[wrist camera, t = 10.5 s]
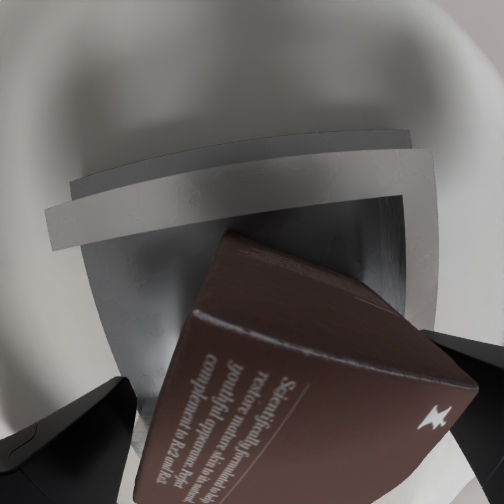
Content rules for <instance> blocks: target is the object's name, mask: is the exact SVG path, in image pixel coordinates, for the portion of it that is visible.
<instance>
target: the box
mask: <svg viewBox="0 0 504 504" xmlns="http://www.w3.org/2000/svg"><path fill="white" fill-rule="evenodd" d="M478 391H479V387H478V384H477V382H476V381H474V380H473V379H472V378H471V377H470V376H469V375H468V374H467V373H466V372H464V371H463V370H462V369H461V368H460V367H459V366H458V365H457V364H456V363H455V362H454V360H453V359H452V358H451V357H450V356H448V355H447V354H446V353H445V352H444V351H442V350H441V349H440V348H439V347H438V346H436V345H435V344H434V343H433V342H432V341H430V340H429V339H428V338H427V337H425V336H424V335H423V334H422V333H421V332H420V331H419V330H418V329H417V328H416V327H414V326H413V325H412V324H411V323H410V322H409V321H408V320H406V319H405V318H404V317H403V316H402V315H401V314H400V313H399V312H397V311H396V310H395V309H394V308H393V307H392V306H391V305H390V304H389V303H387V302H386V301H385V300H384V299H383V298H381V297H380V296H379V295H378V294H377V293H376V292H375V291H374V290H372V289H371V288H370V287H368V286H367V285H366V284H364V283H363V282H361V281H358V280H355V279H353V278H350V277H348V276H345V275H343V274H341V273H338V272H335V271H333V270H330V269H328V268H326V267H322V266H320V265H317V264H315V263H313V262H310V261H307V260H305V259H302V258H300V257H297V256H294V255H292V254H290V253H287V252H284V251H282V250H279V249H277V248H274V247H272V246H269V245H267V244H264V243H261V242H259V241H256V240H253V239H251V238H248V237H245V236H243V235H240V234H237V233H235V232H232V231H230V230H227V231H225V232H224V234H223V236H222V239H221V241H220V244H219V246H218V248H217V250H216V253H215V255H214V258H213V260H212V263H211V265H210V268H209V270H208V273H207V275H206V277H205V279H204V282H203V284H202V287H201V289H200V291H199V294H198V296H197V299H196V302H195V304H194V306H193V308H192V310H191V311H190V313H189V315H188V316H187V318H186V320H185V322H184V324H183V327H182V330H181V333H180V336H179V339H178V341H177V344H176V347H175V350H174V352H173V355H172V358H171V361H170V364H169V367H168V370H167V373H166V375H165V378H164V381H163V384H162V387H161V390H160V392H159V396H158V400H157V403H156V407H155V409H154V413H153V417H152V420H151V423H150V427H149V430H148V434H147V437H146V441H145V445H144V448H143V452H142V456H141V460H140V465H139V468H138V472H137V475H136V479H135V486H134V492H133V501H134V502H135V503H137V504H371V503H373V502H374V501H376V500H377V499H379V498H380V497H382V496H383V495H385V494H386V493H388V492H389V491H391V490H392V489H394V488H395V487H397V486H398V485H399V484H401V483H402V482H403V481H404V480H405V479H406V478H408V477H409V476H410V475H411V474H412V472H413V471H414V470H415V469H416V468H417V467H418V466H419V465H420V463H421V462H422V461H423V459H424V458H425V457H426V456H427V455H428V453H429V452H430V451H431V450H432V449H433V448H434V447H435V446H436V444H437V443H438V442H439V441H440V440H441V439H442V438H443V437H444V435H445V434H446V433H447V432H448V431H449V430H450V428H451V427H452V426H453V425H454V423H455V422H456V421H457V419H458V418H459V417H460V416H461V415H462V413H463V412H464V411H465V409H466V408H467V407H468V405H469V404H470V403H471V401H472V400H473V399H474V397H475V396H476V395H477V393H478Z"/></svg>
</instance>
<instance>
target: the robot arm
mask: <svg viewBox="0 0 504 504" xmlns="http://www.w3.org/2000/svg"><path fill="white" fill-rule="evenodd" d="M419 331H420V332H421V333H422V334H423V335H424V336H425V337H427V338H428V339H429V340H430V341H432V342H433V343H434V344H435V345H436V346H438V347H439V348H440V349H441V350H442V351H444V352H445V353H446V354H447V355H448V356H450V357H451V358H452V359H453V360H454V362H455V363H456V364H457V365H458V366H459V367H460V368H461V369H462V370H463V371H464V372H466V373H467V374H468V375H469V376H470V377H471V378H472V379H473V380H474V381H476V382H477V384H478V387H479V391H478V393H477V395H476V396H475V397H474V399H473V400H472V401H471V403H470V404H469V405H468V407H467V408H466V409H465V411H464V412H463V413H462V415H461V416H460V417H459V418H458V419H457V421H456V422H455V423H454V425H453V426H452V427H451V428H450V432H451V433H452V435H453V437H454V438H455V440H456V442H457V443H458V445H459V447H460V449H461V450H462V452H463V454H464V455H465V457H466V459H467V461H468V463H469V464H470V466H471V468H472V470H473V472H474V474H475V475H476V477H477V479H478V481H479V483H480V485H481V486H482V489H483V491H484V493H485V495H486V497H487V498H488V501H489V503H490V504H504V347H503V346H498V345H493V344H488V343H483V342H479V341H474V340H470V339H465V338H461V337H456V336H452V335H447V334H443V333H439V332H434V331H430V330H426V329H422V330H419ZM137 404H138V400H137V396H136V393H135V391H134V389H133V387H132V384H131V382H130V380H129V378H128V377H125V376H117V377H114V378H112V379H111V380H109V381H107V382H106V383H104V384H102V385H101V386H99V387H97V388H96V389H94V390H92V391H90V392H89V393H87V394H85V395H84V396H82V397H80V398H78V399H77V400H75V401H73V402H72V403H70V404H68V405H66V406H65V407H63V408H61V409H59V410H58V411H56V412H54V413H52V414H50V415H49V416H47V417H45V418H43V419H42V420H40V421H38V423H37V422H36V423H34V424H32V425H31V426H29V427H27V428H25V429H23V430H21V431H19V432H17V433H15V434H13V435H11V436H8V437H6V438H4V439H1V440H0V504H116V501H117V497H118V493H119V488H120V484H121V480H122V476H123V472H124V468H125V464H126V460H127V456H128V453H129V449H130V445H131V441H132V435H133V429H134V422H135V416H136V410H137Z"/></svg>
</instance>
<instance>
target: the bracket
mask: <svg viewBox="0 0 504 504" xmlns="http://www.w3.org/2000/svg"><path fill="white" fill-rule="evenodd" d="M70 189H71V196H72V201H70V202H67V203H64V204H61V205H57V206H54V207H51V208H48V209H45V215H46V221H47V226H48V232H49V237H50V242H51V246H52V251H56V250H60V249H65V248H69V247H74V246H79V245H80V246H81V251H82V255H83V259H84V263H85V268H86V272H87V275H88V279H89V283H90V287H91V290H92V294H93V297H94V300H95V304H96V307H97V310H98V313H99V317H100V320H101V323H102V326H103V328H104V331H105V334H106V337H107V340H108V343H109V345H110V348H111V351H112V353H113V356H114V358H115V361H116V363H117V366H118V368H119V371H120V373H121V376H125V377H128V378H129V380H130V382H131V384H132V387H133V389H134V391H135V393H136V396H137V400H138V404H137V411H138V413H139V418H138V420H137V422H136V425H135V427H134V430H133V435H132V441H131V445H132V447H133V449H134V450H135V452H136V453H137V455H138V456H139V458H140V459H141V456H142V452H143V448H144V445H145V441H146V437H147V434H148V430H149V427H150V423H151V420H152V417H153V413H154V409H155V407H156V403H157V400H158V396H159V392H160V390H161V387H162V384H163V381H164V378H165V375H166V373H167V370H168V367H169V364H170V361H171V358H172V355H173V352H174V350H175V347H176V344H177V341H178V339H179V336H180V333H181V330H182V327H183V324H184V322H185V320H186V318H187V316H188V315H189V313H190V311H191V310H192V308H193V306H194V304H195V302H196V299H197V296H198V294H199V291H200V289H201V287H202V284H203V282H204V279H205V277H206V275H207V273H208V270H209V268H210V265H211V263H212V260H213V258H214V255H215V253H216V250H217V248H218V246H219V244H220V241H221V239H222V236H223V234H224V232H225V231H227V230H230V231H232V232H235V233H237V234H240V235H243V236H245V237H248V238H251V239H253V240H256V241H259V242H261V243H264V244H267V245H269V246H272V247H274V248H277V249H279V250H282V251H284V252H287V253H290V254H292V255H294V256H297V257H300V258H302V259H305V260H307V261H310V262H313V263H315V264H317V265H320V266H322V267H326V268H328V269H330V270H333V271H335V272H338V273H341V274H343V275H345V276H348V277H350V278H353V279H355V280H358V281H361V282H363V283H364V284H366V285H367V286H368V287H370V288H371V289H372V290H374V291H375V292H376V293H377V294H378V295H379V296H380V297H381V298H383V299H384V300H385V301H386V302H387V303H389V304H390V305H391V306H392V307H393V308H394V309H395V310H396V311H397V312H399V313H400V314H401V315H402V316H403V317H404V318H405V319H406V320H408V321H409V322H410V323H411V324H412V325H413V326H414V327H416V328H417V329H418V330H422V329H426V330H430V331H434V323H435V314H436V303H437V289H438V266H439V233H438V209H437V195H436V184H435V175H434V167H433V159H432V152H431V149H412V145H411V139H410V134H409V130H356V131H334V132H319V133H306V134H295V135H285V136H276V137H268V138H260V139H253V140H245V141H239V142H232V143H226V144H220V145H214V146H209V147H203V148H198V149H193V150H188V151H183V152H178V153H173V154H169V155H164V156H160V157H156V158H152V159H147V160H143V161H139V162H136V163H132V164H128V165H124V166H121V167H117V168H113V169H110V170H106V171H103V172H100V173H96V174H93V175H90V176H87V177H83V178H80V179H77V180H74V181H71V182H70Z"/></svg>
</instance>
